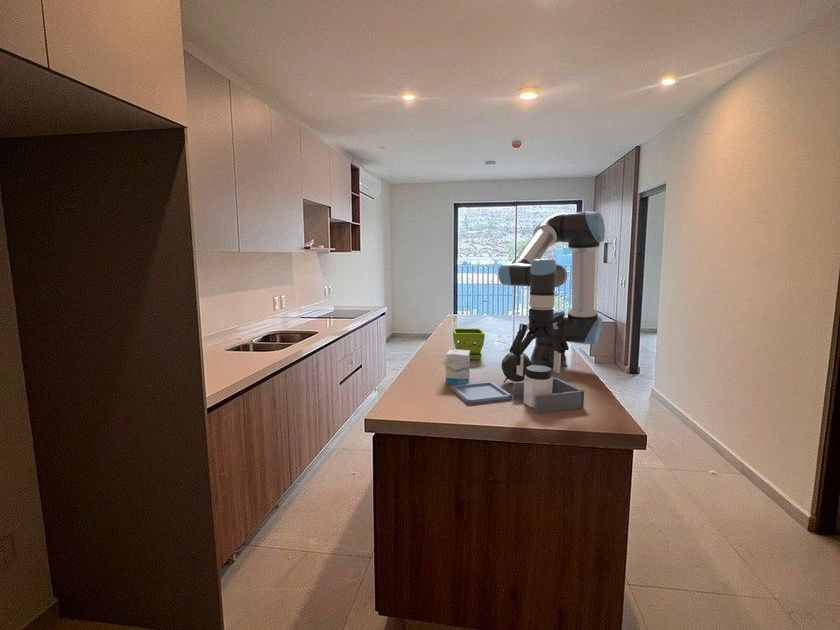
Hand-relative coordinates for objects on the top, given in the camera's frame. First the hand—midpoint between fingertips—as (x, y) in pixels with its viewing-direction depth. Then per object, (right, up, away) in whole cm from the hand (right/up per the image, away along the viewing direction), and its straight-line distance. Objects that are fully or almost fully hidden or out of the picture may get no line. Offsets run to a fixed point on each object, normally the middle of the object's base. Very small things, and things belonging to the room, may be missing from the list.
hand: (538, 373), depth 140 cm
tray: (-17, -9, +11) cm, 22 cm away
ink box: (-24, -7, +26) cm, 36 cm away
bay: (+4, -10, +3) cm, 11 cm away
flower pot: (-16, -1, +62) cm, 64 cm away
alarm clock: (-2, -7, +23) cm, 24 cm away
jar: (0, -10, +2) cm, 11 cm away
